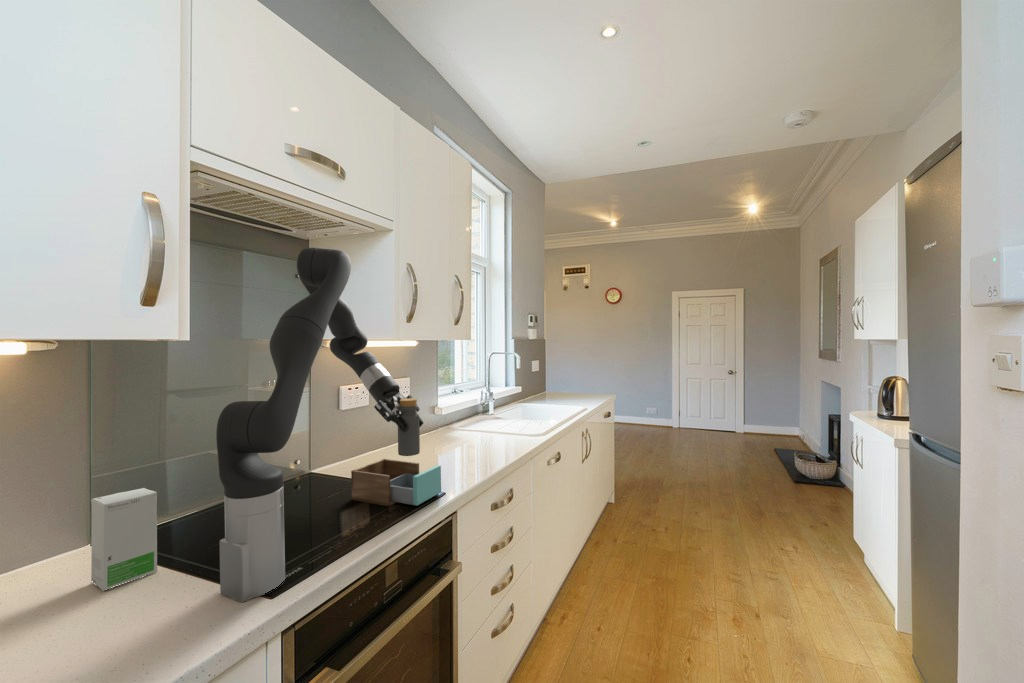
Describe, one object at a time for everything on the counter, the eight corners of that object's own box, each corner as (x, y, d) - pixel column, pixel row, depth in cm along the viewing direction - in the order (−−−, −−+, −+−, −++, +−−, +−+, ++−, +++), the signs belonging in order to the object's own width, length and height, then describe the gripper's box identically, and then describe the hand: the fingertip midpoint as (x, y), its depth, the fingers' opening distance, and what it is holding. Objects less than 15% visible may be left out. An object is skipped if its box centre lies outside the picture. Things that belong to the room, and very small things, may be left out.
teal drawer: (417, 505, 114) (416, 477, 114) (380, 499, 119) (380, 471, 119) (441, 492, 124) (440, 465, 124) (406, 486, 129) (406, 461, 129)
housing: (388, 506, 116) (388, 476, 116) (351, 499, 122) (351, 470, 122) (419, 490, 128) (419, 463, 128) (384, 484, 134) (384, 458, 134)
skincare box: (102, 593, 77) (101, 505, 77) (89, 583, 81) (87, 499, 81) (159, 571, 85) (158, 491, 85) (145, 563, 88) (144, 485, 88)
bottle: (420, 455, 119) (420, 400, 119) (398, 457, 118) (398, 401, 118) (418, 450, 125) (417, 397, 125) (397, 451, 123) (396, 398, 123)
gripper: (368, 376, 118) (404, 423, 113) (403, 372, 131) (437, 414, 126) (354, 395, 120) (388, 442, 115) (389, 389, 133) (422, 431, 128)
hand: (413, 427), depth 121 cm, fingers closed on bottle, 5 cm apart
